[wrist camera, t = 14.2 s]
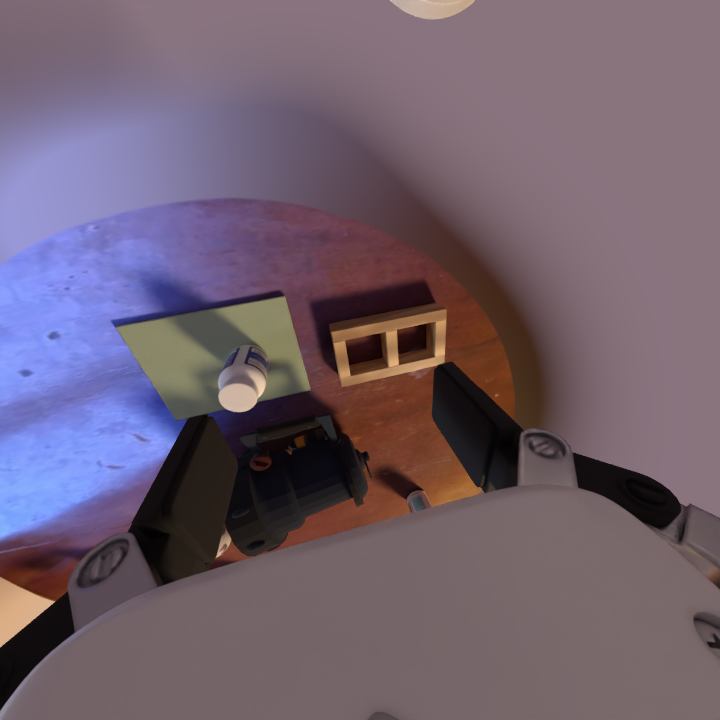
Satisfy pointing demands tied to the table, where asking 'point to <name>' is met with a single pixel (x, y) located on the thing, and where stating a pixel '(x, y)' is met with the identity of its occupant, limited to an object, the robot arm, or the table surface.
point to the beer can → (418, 501)
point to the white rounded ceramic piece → (224, 542)
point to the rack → (390, 343)
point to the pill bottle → (243, 378)
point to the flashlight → (291, 482)
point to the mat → (215, 352)
